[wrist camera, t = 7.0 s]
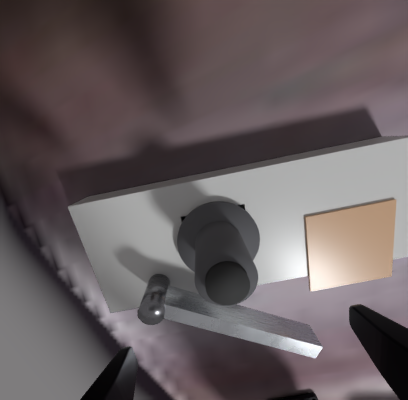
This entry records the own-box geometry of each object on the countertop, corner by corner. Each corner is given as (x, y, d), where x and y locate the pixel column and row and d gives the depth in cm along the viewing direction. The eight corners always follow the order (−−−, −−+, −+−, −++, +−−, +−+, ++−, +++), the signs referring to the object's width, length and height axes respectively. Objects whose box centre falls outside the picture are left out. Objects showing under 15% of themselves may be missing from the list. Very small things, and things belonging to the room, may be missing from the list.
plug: (252, 248, 20) (291, 322, 12) (188, 260, 20) (182, 342, 12) (243, 185, 18) (281, 220, 10) (173, 199, 18) (154, 245, 10)
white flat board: (377, 253, 21) (409, 273, 18) (127, 301, 21) (115, 328, 18) (382, 136, 17) (421, 135, 14) (88, 196, 18) (65, 207, 15)
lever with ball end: (297, 330, 19) (317, 367, 16) (146, 288, 17) (134, 321, 14) (306, 315, 18) (328, 350, 15) (151, 271, 17) (141, 300, 14)
